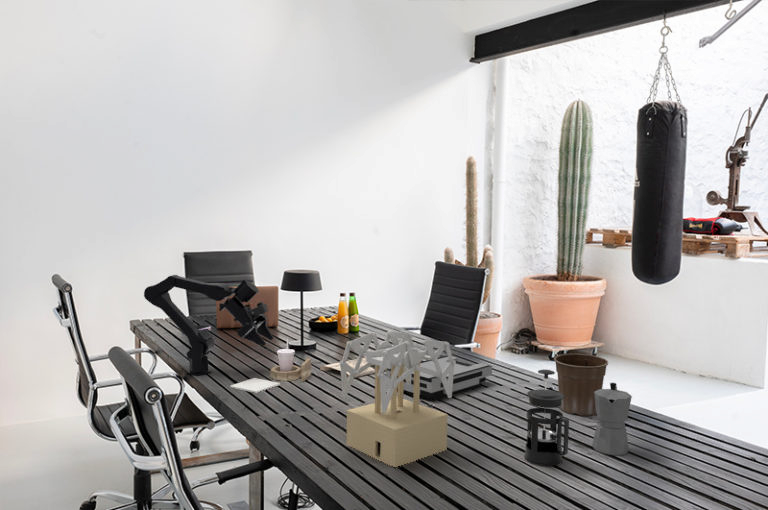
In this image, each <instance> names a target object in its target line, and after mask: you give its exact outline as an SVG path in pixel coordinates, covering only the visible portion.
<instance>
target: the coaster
mask: <svg viewBox="0 0 768 510" xmlns="http://www.w3.org/2000/svg"><path fill="white" fill-rule="evenodd" d="M275 386H276V387H278V386H281V383H280V382H278V381H277V382H276V381H272V380H267V379H263V378H262V379H261V378H257V377H253V378H250V379H246V380H244V381H240V382H238V383H234V384H231V385H230V386H229V387H230V388H232V389H236V390H241V391H243V392H244V391H245V392H249V393H253V392H254V393H253V394H258V392H259V393H261V392H264V391H266V389H267V390H269V388H270V389H272V387H273V388H275ZM263 390H264V391H263ZM260 391H261V392H260Z"/></svg>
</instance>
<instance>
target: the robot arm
mask: <svg viewBox="0 0 768 510" xmlns="http://www.w3.org/2000/svg"><path fill="white" fill-rule="evenodd" d="M173 288H178V289H182V290H186V291H190V292H194V293H197V294H198V293H199V294H202V295H204V296H205V297H207V298H208V299H211V300H214V301H216V302H219V307H218V308H219V310H218V311H219V312H221V311H224V310H226V311H228V313H229V314H230V315H231V316H232V317H233V321H234V322H235V323H236V322H237V323H239V324H240V325H241V327H240V328H239V329H238V330H237V336H238V337H240V339H242V338H243V339H245V340H247V341H250V342H253V343H256V344H259V345H261V346H263V347H264V346H266V344H267V343H266V341H265V340H264V339H263V338H264V337H265V338H266V339H268V340H270V341H272V340H273V339H274V336H273V334H272V332H271V331H270V329H269V327H268V316H267V315H266V313H267V312H269V309H268V304H266V303H264V302H263V301H260V302H257V304H256V306H255V307H253V308H252V307H250V306H246V305H245V304H244V303H249V302H250V301H251V300H252V299H253V298H254V297H255V296H256V295H257V294H258V293H259V289H258V287H257V286H256V284H254V283H252V282H251V281H249V280H247V279H246V278H244V279H242V280H241V282H240V284H239V285H237V286H236V287H232V286H230V285H229V284H227V283H221V282H206V281H201V280H197V279H193V278H188V277H184V276H181V275H180V276H179V275H178V274H172V275H169V276H168V277H166V278H165V279H163V280H162V281H160V282H158V283H156V284H153V285H150V286H147V287H145V289H144V292H143V297H144V299H145V300H146V301H147V302H149V303H150V304H151V305H153V307H154V306H155V307H156V308H158V309H160V310H162V311H163V312H164V314H166V316H167V317H168V318H169V319H170V320H171V321H172V323H174V324H175V325H176V327H178V329H179V330H180V331H181V332H182V333H183V334H184V335H185V336H186V338H187V340H188V343H189V346H190V347H191V348H190V349H189V350H188V351H187V352H186V356H187V357H186V358H187V359H189V370H188V371H186V374H189V375H195V376H201V375H205V374H208V373H212V370H210V369H209V359H208V358H209V357H208V355H209V354H210V351H211V350H213V348H214V346H215V340H214V339H213V335H212V334H210V332H208V331H209V330H207V329H206V328H204V329H202V330H201V329H199V328H197V326H196V325H195V324H194V323H193V322H192V321H191V320H190V319H189V318H188V316H187V315H185V314H184V313H183V311H181V309H180V308H179V307H178V306H177V305H176V304H175V303H174V302H173V300H172V298H171V295H170V291H171V290H172V289H173ZM231 296H232V297H231ZM223 300H225V301H224V302H221V301H223ZM220 302H221V303H220Z"/></svg>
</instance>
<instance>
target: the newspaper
mask: <svg viewBox="0 0 768 510" xmlns="http://www.w3.org/2000/svg"><path fill="white" fill-rule="evenodd" d="M357 360H358V358H355V359H350V360H346V363H347V364H348V365H349V366H351V367H352V368H353V369H354V368H355V365H356V363H357ZM420 362H422V360H420ZM339 363H340V361H339V362H336V363H335V362H334V363H331V364H330V363H329V364H326V365H322V366H320V367H319V368H320V371H324V372H325V371H333V370H337V371H340V372H341V368H340V364H339ZM366 363H368V362H366V356H363V358H362V361H361V364H360V367H359V368H361V367H362V366H364V365H365V364H366ZM383 372H387V368H384V371H383ZM373 374H375V364H373V365H371V366H370V367H368V368H367V369H366V370H364V371H363V372H362V373H360V375H357V376H356V375H355V376H354V379H355V378H359V377H364V376H368V375H373ZM346 375H347V379H348V378H349V375H350V373H348V372H346Z"/></svg>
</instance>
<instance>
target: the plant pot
mask: <svg viewBox="0 0 768 510" xmlns="http://www.w3.org/2000/svg"><path fill="white" fill-rule="evenodd" d="M553 360H554V362H555V370H556V373H557V383H558V387H557V389H558V392H559V393H561V394H563V395H564V398H563V399H562V405H561V406H559V407H558V408H559V409H560V410H561V411H563V412H564V413H566V414H570V415H574V414H576V415H578V416H594V415H597V413H596V404H595V395H594V392H595V391H597V390H599V389H603V388H604V387H603V385H604V378H605V376H606V372H607V366H608V365H609V360H607V359H606V358H604V357H601V356H597V355H591V354H586V353H585V354H583V353H563V354H562V353H561V354H558V355H556V356H554V358H553Z"/></svg>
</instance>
